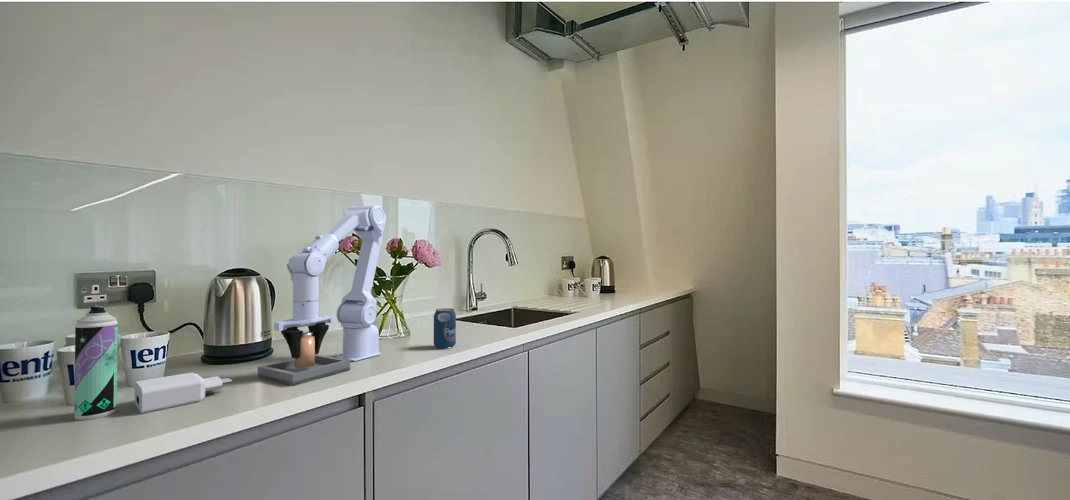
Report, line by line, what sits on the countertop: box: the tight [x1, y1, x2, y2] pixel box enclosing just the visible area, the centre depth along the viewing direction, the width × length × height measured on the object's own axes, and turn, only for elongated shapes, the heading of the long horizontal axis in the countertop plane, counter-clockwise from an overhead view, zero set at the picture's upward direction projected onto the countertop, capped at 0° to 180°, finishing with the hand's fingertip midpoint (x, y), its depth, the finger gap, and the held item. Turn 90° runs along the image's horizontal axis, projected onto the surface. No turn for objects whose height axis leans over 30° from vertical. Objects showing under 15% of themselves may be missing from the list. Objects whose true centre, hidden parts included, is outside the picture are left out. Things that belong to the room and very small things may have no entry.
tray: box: [257, 354, 351, 387], centre depth 107 cm, size 15×14×2 cm
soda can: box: [433, 307, 457, 349], centre depth 138 cm, size 7×7×12 cm
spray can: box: [73, 305, 119, 421], centre depth 79 cm, size 6×6×20 cm
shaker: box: [293, 330, 315, 368], centre depth 107 cm, size 4×4×8 cm
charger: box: [134, 372, 233, 414], centre depth 88 cm, size 5×9×15 cm
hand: (305, 355), depth 107 cm, fingers closed on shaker, 4 cm apart
